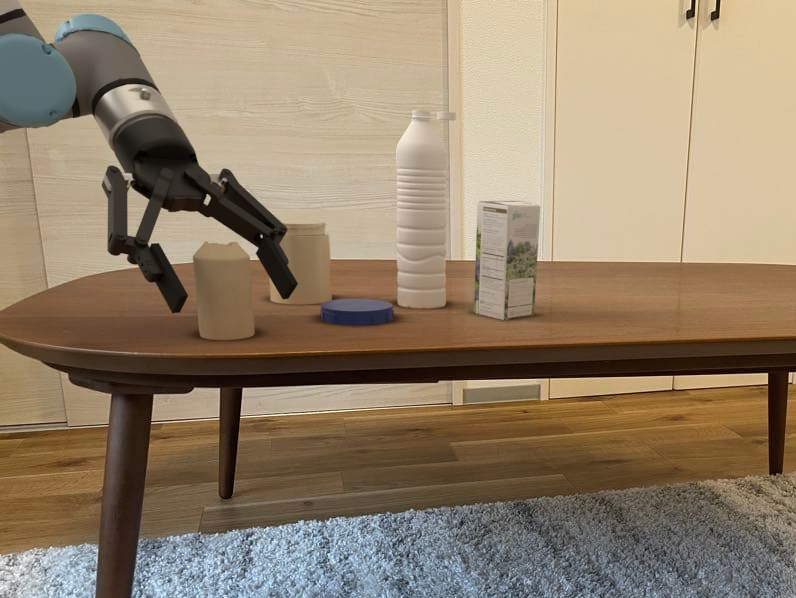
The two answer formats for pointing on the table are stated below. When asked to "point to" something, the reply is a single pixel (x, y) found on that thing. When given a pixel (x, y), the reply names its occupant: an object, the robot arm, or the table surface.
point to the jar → (306, 262)
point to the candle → (223, 291)
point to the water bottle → (421, 213)
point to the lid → (356, 312)
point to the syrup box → (506, 259)
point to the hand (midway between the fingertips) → (238, 298)
